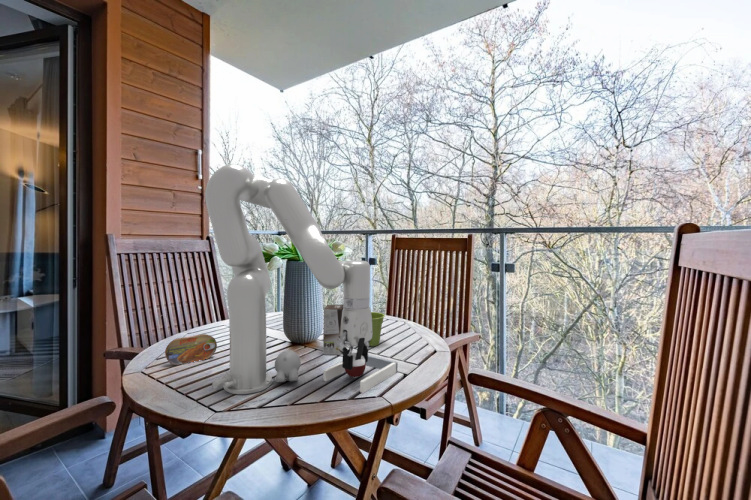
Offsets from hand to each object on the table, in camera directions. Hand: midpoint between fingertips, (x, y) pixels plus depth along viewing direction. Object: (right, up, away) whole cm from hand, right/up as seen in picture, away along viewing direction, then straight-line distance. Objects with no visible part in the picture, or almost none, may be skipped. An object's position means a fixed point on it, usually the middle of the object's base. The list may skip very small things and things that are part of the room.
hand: (355, 364), depth 102 cm
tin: (-55, -4, +14) cm, 56 cm away
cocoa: (0, -3, 0) cm, 3 cm away
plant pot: (+3, -3, +34) cm, 34 cm away
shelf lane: (+2, -4, +2) cm, 5 cm away
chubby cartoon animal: (-19, -4, 0) cm, 20 cm away
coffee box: (-9, -4, +25) cm, 27 cm away
